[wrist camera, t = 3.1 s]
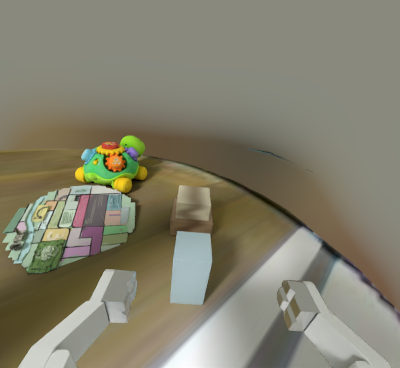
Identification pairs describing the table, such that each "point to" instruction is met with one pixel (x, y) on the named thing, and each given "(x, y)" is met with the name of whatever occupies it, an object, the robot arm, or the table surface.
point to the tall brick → (191, 267)
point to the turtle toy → (113, 164)
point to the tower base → (189, 223)
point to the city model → (69, 226)
